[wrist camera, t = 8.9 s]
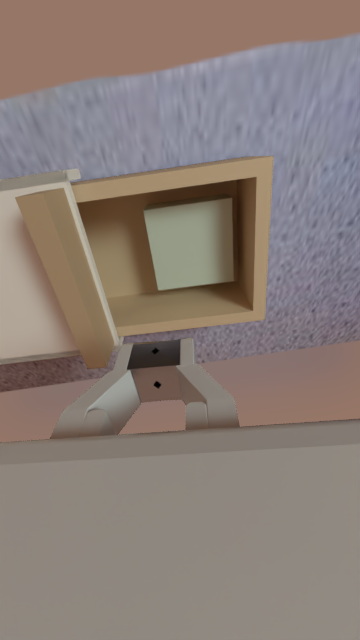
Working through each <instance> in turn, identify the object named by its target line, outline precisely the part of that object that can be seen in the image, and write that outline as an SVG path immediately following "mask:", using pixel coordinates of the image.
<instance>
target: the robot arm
mask: <svg viewBox="0 0 360 640" xmlns="http://www.w3.org/2000/svg"><path fill="white" fill-rule="evenodd" d="M181 399H182V401H183V402H184V403H185V405H186V430H182V431H168V432H152V433H138V434H123V435H118V434H119V432H120V431H121V430H122V428H123V427H124V426H125V424H126V423H127V421H128V420H129V419H130V418H131V416H132V415H133V414H134V412H135V411H136V410H137V408H138V407H139V406H140V404H141V402H151V401H161V400H181ZM0 640H360V419H349V420H334V421H319V422H304V423H289V424H274V425H259V426H245V427H240V426H239V421H238V416H237V410H236V405H235V400H234V398H233V397H232V396H231V395H230V394H229V393H228V392H227V391H226V390H225V389H224V388H223V387H222V386H220V385H219V384H218V383H217V382H216V381H215V380H214V379H213V378H212V377H211V376H210V375H209V374H208V373H207V372H206V371H205V370H204V369H203V368H202V367H201V366H200V365H199V364H197V363H196V355H195V347H194V340H193V337H191V338H183V339H178V340H168V341H156V342H143V343H131V344H123V345H121V347H120V350H119V353H118V356H117V359H116V362H115V366H114V369H113V371H110V372H108V373H107V374H106V375H105V376H103V377H102V378H101V379H100V380H99V381H98V382H96V383H95V384H94V385H93V386H92V387H90V388H89V389H88V390H87V391H86V392H85V393H84V394H82V395H81V396H80V397H79V398H78V399H76V400H75V401H74V402H73V403H72V404H70V405H69V406H68V407H67V408H66V409H65V410H63V412H62V414H61V416H60V418H59V420H58V422H57V425H56V427H55V429H54V431H53V433H52V435H51V437H50V439H46V440H31V441H16V442H1V443H0Z"/></svg>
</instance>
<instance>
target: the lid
mask: <svg viewBox="0 0 360 640" xmlns="http://www.w3.org/2000/svg"><path fill="white" fill-rule="evenodd" d="M80 178H81V176H80V173H79V170H78V169H70V170H61V171H54V172H48V173H41V174H35V175H28V176H21V177H15V178H8V179H2V180H0V365H1V364H10V363H19V362H27V361H36V360H45V359H54V358H63V357H71V356H80V355H82V357H83V359H84V362H85V364H86V366H87V369H94V368H103V367H107V365H108V362H109V359H110V356H111V353H112V352H115V351H119V350H120V347H121V345H122V342H123V339H124V336H121V337H118V335H117V331H116V328H115V325H114V322H113V319H112V315H111V312H110V309H109V306H108V303H107V299H106V296H105V293H104V290H103V287H102V283H101V280H100V277H99V274H98V271H97V268H96V264H95V261H94V258H93V255H92V252H91V248H90V245H89V242H88V239H87V236H86V232H85V229H84V226H83V223H82V220H81V216H80V213H79V210H78V207H77V204H76V200H75V197H74V194H73V191H72V188H71V184H70V181H71V180H76V179H80Z"/></svg>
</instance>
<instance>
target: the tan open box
mask: <svg viewBox="0 0 360 640" xmlns="http://www.w3.org/2000/svg"><path fill="white" fill-rule="evenodd" d="M272 175H273V156H252V157H241V158H234V159H227V160H221V161H214V162H207V163H200V164H194V165H187V166H180V167H174V168H167V169H160V170H153V171H147V172H140V173H133V174H127V175H120V176H113V177H106V178H100V179H93V180H86V181H80V182H73V183H70V184H71V188H72V191H73V194H74V197H75V200H76V204H77V207H78V210H79V213H80V216H81V220H82V223H83V226H84V229H85V232H86V236H87V239H88V242H89V245H90V248H91V252H92V255H93V258H94V261H95V264H96V268H97V271H98V274H99V277H100V280H101V283H102V287H103V290H104V293H105V296H106V299H107V303H108V306H109V309H110V312H111V315H112V319H113V322H114V325H115V328H116V331H117V335H118V337H121V336H129V335H138V334H146V333H155V332H164V331H172V330H181V329H189V328H198V327H207V326H215V325H224V324H232V323H241V322H249V321H258V320H265V304H266V286H267V267H268V249H269V230H270V212H271V193H272Z"/></svg>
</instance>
